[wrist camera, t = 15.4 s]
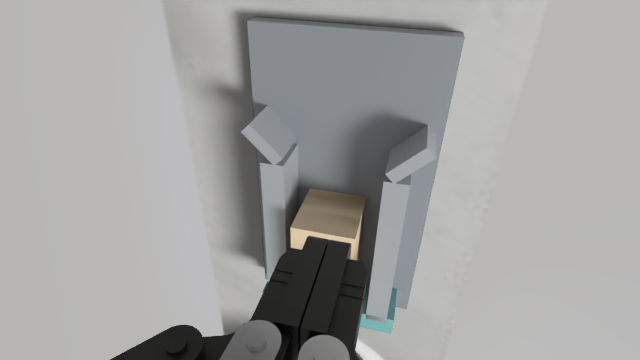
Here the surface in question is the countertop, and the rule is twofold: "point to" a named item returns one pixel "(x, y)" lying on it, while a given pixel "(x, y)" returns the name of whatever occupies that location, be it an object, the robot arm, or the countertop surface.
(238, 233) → the countertop surface
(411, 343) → the countertop surface
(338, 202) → the beech block
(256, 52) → the guide board
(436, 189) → the countertop surface
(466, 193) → the countertop surface
